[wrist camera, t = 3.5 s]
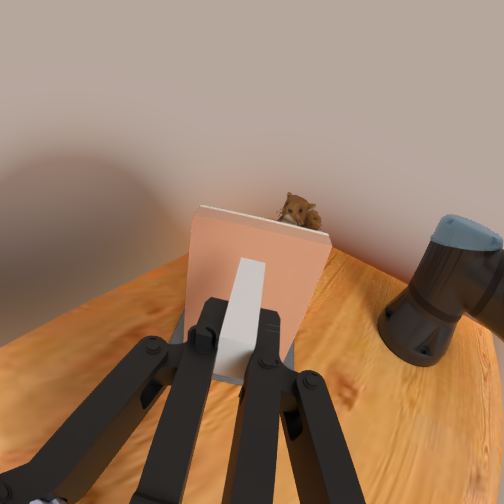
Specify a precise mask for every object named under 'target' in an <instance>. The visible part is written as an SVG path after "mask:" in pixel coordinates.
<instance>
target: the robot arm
mask: <svg viewBox="0 0 504 504" xmlns="http://www.w3.org/2000/svg"><path fill="white" fill-rule="evenodd" d="M430 239H431V241H430V243H429V245H428V247H427V250H426V252H425V254H424V256H423V258H422V260H421V262H420V264H419V266H418V268H417V270H416V272H415V273H414V275H413V277H412V279H411V281H410V283H409V285H408V286H407V287H406V288H405V289H404V290H403V291H402V292H401V293H400V294H399V295H398V296H397V297H395V298H394V299H393V300H392V301H391V302H390V303H389V304H387V305H386V307H385V308H384V310H383V311H382V313H381V315H380V316H379V319H378V329H379V332H380V335H381V337H382V339H383V340H384V342H385V343H386V345H387V346H388V347H389V348H390V349H391V350H392V351H393V352H394V353H395V354H396V355H397V356H398V357H400V358H401V359H403V360H404V361H406V362H408V363H410V364H413V365H416V366H420V367H429V366H433V365H435V364H436V363H438V362H439V360H440V359H441V358H442V357H443V356H444V354H445V353H446V351H447V349H448V346H449V344H450V341H451V339H452V336H453V333H454V330H455V328H456V325H457V323H458V321H459V320H460V318H461V317H462V315H463V314H464V312H467V313H468V314H470V315H471V316H472V317H474V318H475V319H476V320H477V321H479V322H480V323H481V324H483V325H484V326H485V327H486V328H488V329H489V330H490V331H491V332H492V333H494V334H495V335H496V336H497V337H498V338H499V339H501V340H502V341H503V342H504V250H503V249H502V247H503V239H502V237H501V236H499V235H498V234H497V233H495V232H493V231H491V230H490V229H488V228H487V227H485V226H483V225H481V224H479V223H476V222H474V221H472V220H469V219H467V218H464V217H460V216H457V215H450V214H449V215H446V216H444V217H442V219H441V220H440V222H439V224H438V226H437V228H436V230H435V232H434V234H433V235H432V236H431V238H430ZM265 264H266V263H264V262H260V261H255V260H251V259H247V258H243V257H241V260H240V263H239V267H238V271H237V274H236V278H235V281H234V285H233V289H232V292H231V296H230V300H229V301H227V300H223V299H218V298H214V297H210V298H209V299H208V300H207V301H205V303H204V306H203V309H202V311H201V314H200V317H199V319H198V322H197V324H196V325H194V326H192V327H190V329H189V330H188V336H187V341H186V342H185V343H181V344H167V343H166V341H165V340H164V339H162V338H161V337H158V336H147V337H144V338H143V339H141V340H140V341H139V342H138V343H137V344H136V345H135V347H134V348H133V349H132V350H131V351H130V352H129V353H128V354H127V355H126V356H125V357H124V358H123V359H122V360H121V361H120V362H119V363H118V365H117V366H116V367H115V368H114V369H113V370H112V371H111V372H110V373H109V374H108V375H107V376H106V377H105V378H104V380H103V381H102V382H101V383H100V384H99V385H98V386H97V387H96V388H95V389H94V390H93V391H92V393H91V394H90V395H89V396H88V397H87V398H86V399H85V400H84V401H83V402H82V403H81V405H80V406H79V407H78V408H77V409H76V410H75V411H74V412H73V413H72V414H71V416H70V417H69V418H68V419H67V420H66V421H65V422H64V423H63V424H62V426H61V427H60V428H59V429H58V430H57V431H56V432H55V433H54V435H53V436H52V437H51V438H50V439H49V440H48V441H47V442H46V444H45V445H44V446H43V447H42V448H41V449H40V450H39V452H38V453H37V454H36V455H35V456H34V457H33V458H32V460H31V461H30V462H29V463H27V464H24V465H22V466H19V467H17V468H14V469H12V470H9V471H7V472H4V473H1V474H0V504H75V503H76V502H78V501H79V500H80V499H81V498H82V497H83V496H84V495H85V494H86V493H87V492H88V491H89V489H90V488H91V487H92V485H93V484H94V483H95V481H96V480H97V479H98V478H99V476H100V475H101V474H102V472H103V471H104V470H105V468H106V467H107V466H108V464H109V463H110V462H111V461H112V459H113V458H114V457H115V455H116V454H117V453H118V451H119V450H120V449H121V447H122V446H123V445H124V443H125V442H126V441H127V439H128V438H129V437H130V435H131V434H132V433H133V431H134V430H135V429H136V427H137V426H138V425H139V423H140V422H141V421H142V419H143V418H144V417H145V415H146V414H147V413H148V411H149V410H150V409H151V407H152V406H153V405H154V403H155V402H156V401H157V399H158V398H159V397H160V395H161V394H162V393H163V391H164V390H165V388H166V387H167V386H168V385H172V386H171V389H170V392H169V395H168V397H167V400H166V403H165V406H164V409H163V412H162V415H161V418H160V421H159V423H158V426H157V429H156V432H155V435H154V438H153V441H152V444H151V447H150V450H149V453H148V456H147V460H146V463H145V466H144V469H143V472H142V475H141V478H140V482H139V485H138V488H137V490H136V491H135V493H134V494H133V496H132V498H131V500H130V503H129V504H181V503H182V499H183V495H184V490H185V486H186V482H187V478H188V474H189V469H190V465H191V461H192V457H193V453H194V449H195V445H196V441H197V436H198V432H199V428H200V424H201V420H202V416H203V412H204V408H205V404H206V400H207V396H208V392H209V388H210V384H211V379H212V375H213V373H214V374H219V375H223V376H227V377H232V378H236V379H241V380H243V379H244V382H243V386H242V388H241V391H240V394H239V396H238V397H240V399H239V405H238V411H237V417H236V423H235V429H234V435H233V440H232V446H231V452H230V458H229V464H228V469H227V475H226V480H225V486H224V492H223V497H222V503H221V504H273V494H274V483H275V472H276V460H277V446H278V431H279V415H280V417H281V421H282V426H283V430H284V435H285V439H286V444H287V448H288V453H289V457H290V461H291V466H292V470H293V474H294V479H295V483H296V488H297V492H298V496H299V500H300V504H366V503H365V500H364V496H363V493H362V490H361V487H360V484H359V481H358V477H357V474H356V471H355V468H354V465H353V462H352V459H351V456H350V453H349V450H348V447H347V444H346V441H345V438H344V435H343V432H342V429H341V426H340V423H339V421H338V418H337V415H336V412H335V409H334V406H333V403H332V400H331V398H330V395H329V392H328V389H327V386H326V384H325V381H324V379H323V377H322V376H321V375H320V374H318V373H317V372H315V371H311V370H305V371H302V372H301V373H298V372H295V371H293V370H291V369H289V368H287V367H286V366H285V365H284V364H283V363H282V361H281V359H280V355H279V350H280V323H281V318H280V316H279V314H278V312H277V311H273V310H268V309H264V308H260V306H261V298H262V289H263V281H264V273H265Z"/></svg>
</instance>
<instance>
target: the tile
mask: <svg viewBox="0 0 504 504" xmlns="http://www.w3.org/2000/svg"><path fill="white" fill-rule="evenodd" d="M331 249H332V244H331V241H330V238H329V235H328V234H327V233H323V232H319V231H315V230H311V229H307V228H303V227H299V226H295V225H291V224H287V223H282V222H278V221H274V220H270V219H265V218H261V217H256V216H252V215H248V214H243V213H238V212H234V211H229V210H225V209H220V208H215V207H210V206H205V205H200V206H199V208H198V209H197V210H196V211H195V213H194V214H193V220H192V228H191V238H190V248H189V259H188V271H187V284H186V299H185V317H184V339H183V343H185V342H186V341H187V336H188V330H189V329H190V327H192V326H194V325H196V324H197V322H198V319H199V317H200V314H201V311H202V309H203V306H204V303H205V301H207V300H208V299H209V298H210V297H214V298H218V299H223V300H227V301H229V300H230V296H231V292H232V289H233V285H234V281H235V278H236V274H237V271H238V267H239V263H240V260H241V257H243V258H247V259H251V260H255V261H260V262H264V263H266V264H265V273H264V281H263V289H262V298H261V306H260V308H264V309H268V310H273V311H277V312H278V314H279V316H280V318H281V323H280V350H279V355H280V359H281V361H282V363H283V361H284V359H285V357H286V355H287V353H288V351H289V349H290V347H291V344H292V342H293V340H294V338H295V336H296V333H297V331H298V329H299V327H300V325H301V322H302V320H303V318H304V315H305V313H306V311H307V308H308V306H309V304H310V301H311V299H312V297H313V294H314V292H315V289H316V287H317V285H318V282H319V280H320V277H321V275H322V272H323V270H324V267H325V264H326V262H327V259H328V257H329V254H330V251H331Z"/></svg>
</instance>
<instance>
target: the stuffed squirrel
mask: <svg viewBox="0 0 504 504" xmlns="http://www.w3.org/2000/svg"><path fill="white" fill-rule="evenodd" d="M314 208H316V204H309V203H308V202H307V200H305V199H304V198H302V197H299V196H297V195H292V194H291V193H290V192H288V193H287V201H286V202H285V205H284V207H283V209H280V210H282V211H281V213H282V214H283V216H281V217H280V218H279V219H278V220H277V221H278V222H282V223H287V224H291V225H295V226H299V227H303V228H307V229H311V230H315V231H317V230H318V229H320V227H321V226H322V225H321V218H320V217H319V215H318V212H317V211H315V210H313V209H314ZM276 213H278V211H277V212H276ZM281 213H280V214H281ZM280 214H279V216H280ZM279 216H278V217H279Z"/></svg>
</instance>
